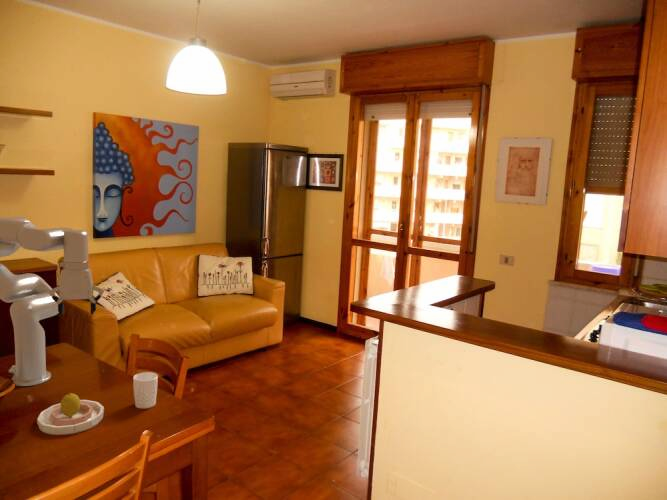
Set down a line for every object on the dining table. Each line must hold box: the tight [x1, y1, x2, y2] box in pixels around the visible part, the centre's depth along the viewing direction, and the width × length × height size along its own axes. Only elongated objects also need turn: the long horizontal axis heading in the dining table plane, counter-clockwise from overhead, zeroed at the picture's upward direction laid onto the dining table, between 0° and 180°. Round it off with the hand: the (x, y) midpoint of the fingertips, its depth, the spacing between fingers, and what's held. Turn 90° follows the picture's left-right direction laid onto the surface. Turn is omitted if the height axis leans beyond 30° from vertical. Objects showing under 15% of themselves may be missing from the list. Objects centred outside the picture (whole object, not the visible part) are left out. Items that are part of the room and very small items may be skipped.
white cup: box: [132, 371, 159, 409], centre depth 169 cm, size 8×8×10 cm
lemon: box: [60, 392, 81, 417], centre depth 156 cm, size 6×6×8 cm
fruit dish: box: [36, 399, 105, 436], centre depth 156 cm, size 18×18×3 cm
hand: (77, 313), depth 173 cm, fingers open, 9 cm apart
